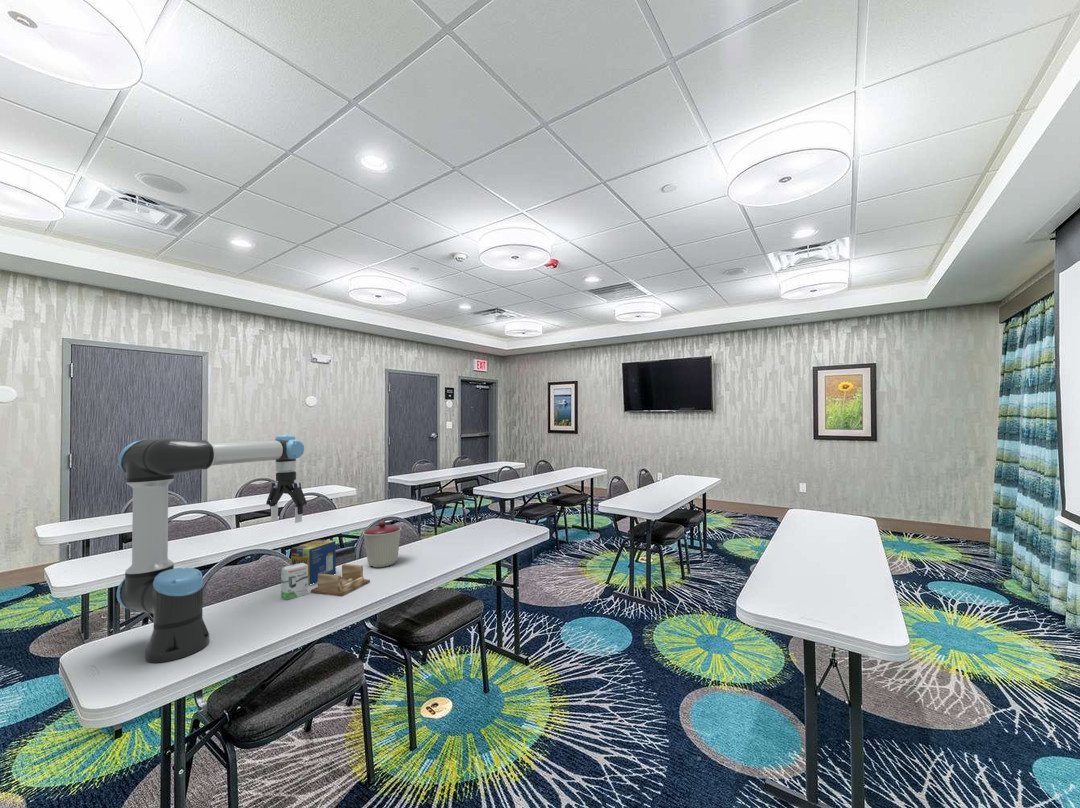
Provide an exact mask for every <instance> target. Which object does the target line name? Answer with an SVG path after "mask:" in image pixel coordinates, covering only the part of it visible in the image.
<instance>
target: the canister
mask: <svg viewBox="0 0 1080 808" xmlns="http://www.w3.org/2000/svg"><path fill="white" fill-rule="evenodd" d="M401 531H402V527H401V526H398V525H396V524H387V521H385V520H380V521H379V522H378V525H374V526H371V527H368V528H366V529H365V530H364V531H362V535H363V538H364V545H365V553H366V559H367V563H368V565H369V566H370V567H371V566H373V567H372V568H386V567H390V566H392V565H395V564H396V563H397V561H398V558H399V549H400V548H399V547H400V538H401ZM389 565H390V566H389ZM385 566H386V567H385Z"/></svg>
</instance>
